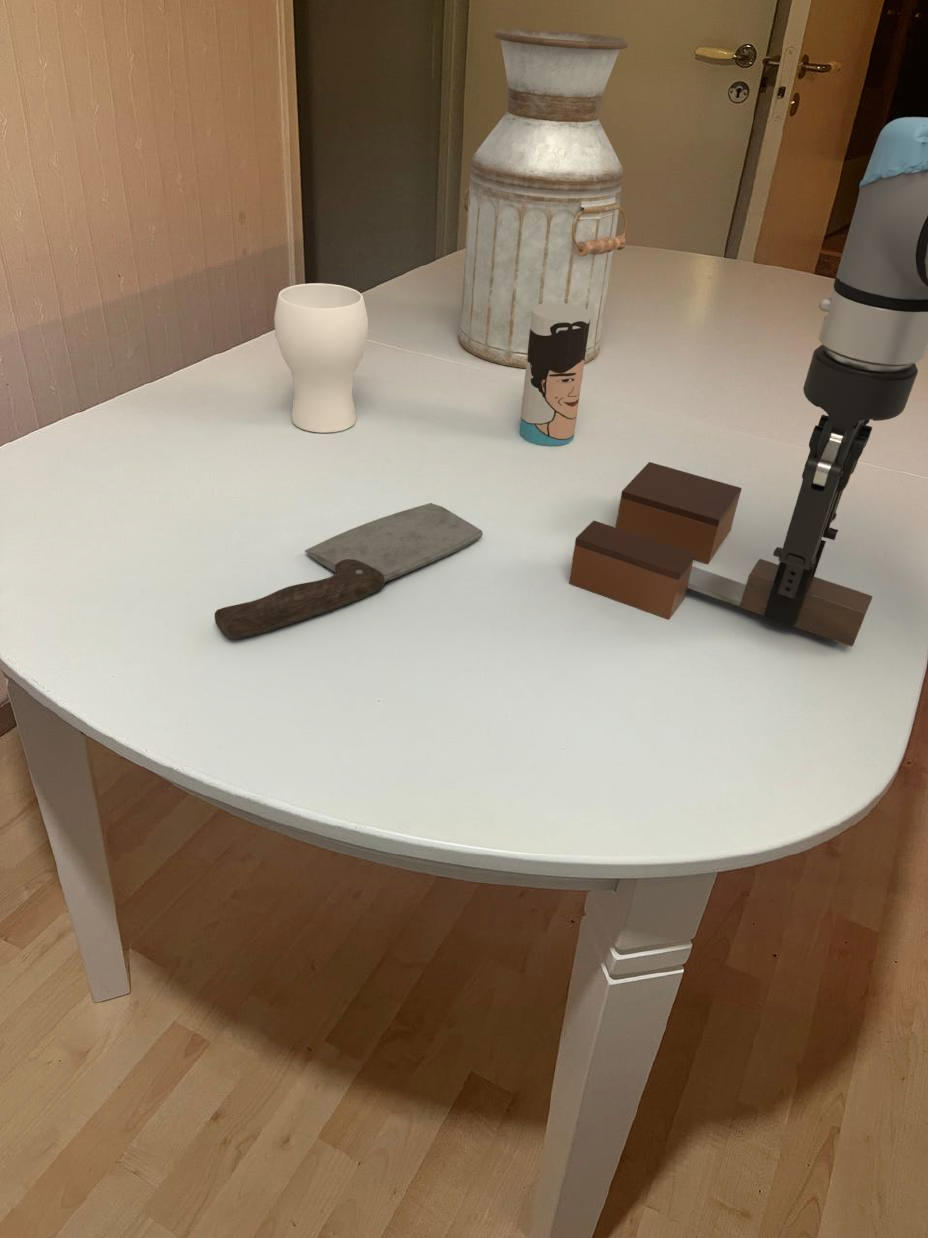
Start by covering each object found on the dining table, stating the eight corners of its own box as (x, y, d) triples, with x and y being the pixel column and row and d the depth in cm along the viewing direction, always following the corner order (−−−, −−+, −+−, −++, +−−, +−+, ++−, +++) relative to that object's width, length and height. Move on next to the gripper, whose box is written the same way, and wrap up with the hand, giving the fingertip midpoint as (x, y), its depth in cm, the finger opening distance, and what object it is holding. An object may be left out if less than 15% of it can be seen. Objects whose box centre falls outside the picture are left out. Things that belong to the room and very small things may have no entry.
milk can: (423, 331, 141) (434, 24, 118) (524, 310, 153) (553, 26, 130) (533, 384, 127) (571, 45, 103) (636, 356, 138) (690, 45, 115)
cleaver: (248, 659, 74) (247, 638, 73) (180, 606, 79) (177, 586, 78) (492, 539, 93) (494, 521, 91) (423, 503, 98) (424, 485, 97)
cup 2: (541, 450, 110) (556, 324, 101) (508, 428, 114) (520, 306, 105) (585, 439, 113) (603, 316, 104) (551, 418, 117) (566, 299, 109)
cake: (730, 530, 97) (742, 487, 94) (708, 564, 91) (719, 519, 88) (640, 503, 100) (649, 461, 98) (613, 534, 95) (621, 490, 92)
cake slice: (684, 599, 86) (695, 553, 83) (669, 619, 83) (680, 572, 80) (586, 564, 90) (593, 519, 87) (568, 583, 87) (575, 537, 84)
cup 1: (261, 420, 112) (252, 294, 103) (321, 395, 119) (318, 276, 110) (326, 446, 107) (323, 317, 98) (385, 419, 114) (387, 296, 105)
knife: (859, 629, 82) (873, 595, 79) (852, 647, 79) (866, 613, 77) (610, 542, 91) (616, 510, 88) (597, 556, 88) (603, 524, 86)
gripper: (837, 315, 76) (765, 557, 90) (791, 373, 64) (717, 641, 78) (933, 335, 73) (844, 581, 87) (904, 400, 62) (806, 672, 75)
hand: (784, 609), depth 83 cm, fingers closed on knife, 3 cm apart
